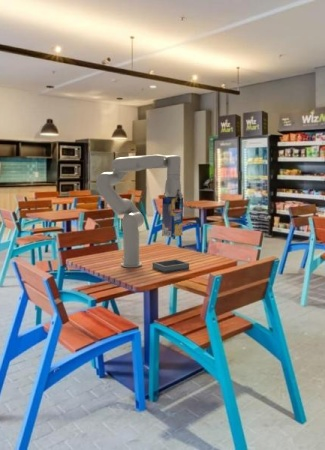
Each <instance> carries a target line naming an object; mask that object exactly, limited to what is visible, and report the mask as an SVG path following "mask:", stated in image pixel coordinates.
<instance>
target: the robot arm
mask: <svg viewBox="0 0 325 450" xmlns="http://www.w3.org/2000/svg"><path fill="white" fill-rule="evenodd" d="M181 161H182V160H181V156H180V155H163V154H152V155H150V154H149V155H135V156H123V157H117V158H115V159H113V161H112V164H111V166H112V170H111V171H106V172H101V173H100V174H99V175H98V176H97V179H96V182H95V185H96V189H97V192H98V193H99V195H100V196H101V197H102V198H103V200H104V201H105V202H106V204H107V205H108V206H109V208H110V209H111V210H112V211H113V212H114V214H115V215H118V216H122V215H123V218H122V220H121V226H122V237H123V238H122V240H123V241H122V242H123V257H122V260H123V261H122V262H121V263H120V265H121V267H124V268H139V267H141V266H142V265H143V263H142V262H141V261H140V233H139V228H140V227H141V226H143V225H144V221H145V219H144V215H143V213H141V211H140V210H139V209H138V207H137V206H136V205H135V204H134V203H133V201H131V199H129V198H123V197H121V196H120V195H119V193H118V192H117V191H116V190H115V189H114V188H113V187H114V186H117V185H118V184H119V183H120V182H121V181H122V180H123V179H124V177H126V175H127V174H128V173H130V172H139V171H142V170H150V169H166V181H165V186H164V193H163V196H164V198H166V197H171V198H175V201H176V202H175V209H180V202H181V199H182V197H183V196H184V195H183V193H182V185H181V184H182V183H181V163H182V162H181ZM177 198H178V199H177Z"/></svg>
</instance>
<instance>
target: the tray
mask: <svg viewBox="0 0 325 450" xmlns="http://www.w3.org/2000/svg"><path fill="white" fill-rule="evenodd" d="M152 269H153V270H156V271H158V272H161V273H164V274H166V273H167V272H168V273H173V272H180V270H181V271H186V269H187V270H190V263H189V262H187V261H183V260H180V259H169V260H168V259H167V260H161V261H154V262H152Z"/></svg>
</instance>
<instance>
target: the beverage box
mask: <svg viewBox="0 0 325 450" xmlns="http://www.w3.org/2000/svg"><path fill="white" fill-rule="evenodd" d="M177 199H178V198H177ZM175 202H176V201H175V198H171V197H166V198H165V197H162V206H161V207H162V212H161V213H162V216H161V217H162V219H161V221H162V222H161V225H162V226H161V237H167V238H176V237H179V236H183V228H184V227H183V226H184V225H183V222H184V221H183V220H184V219H183V217H184V197H183V196H182V199H181V202H180V209H175Z"/></svg>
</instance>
